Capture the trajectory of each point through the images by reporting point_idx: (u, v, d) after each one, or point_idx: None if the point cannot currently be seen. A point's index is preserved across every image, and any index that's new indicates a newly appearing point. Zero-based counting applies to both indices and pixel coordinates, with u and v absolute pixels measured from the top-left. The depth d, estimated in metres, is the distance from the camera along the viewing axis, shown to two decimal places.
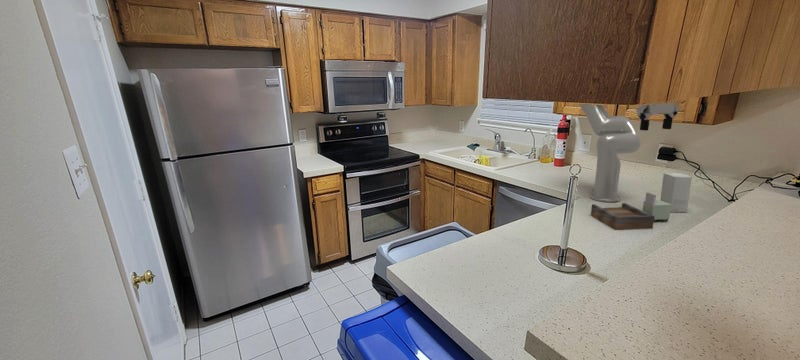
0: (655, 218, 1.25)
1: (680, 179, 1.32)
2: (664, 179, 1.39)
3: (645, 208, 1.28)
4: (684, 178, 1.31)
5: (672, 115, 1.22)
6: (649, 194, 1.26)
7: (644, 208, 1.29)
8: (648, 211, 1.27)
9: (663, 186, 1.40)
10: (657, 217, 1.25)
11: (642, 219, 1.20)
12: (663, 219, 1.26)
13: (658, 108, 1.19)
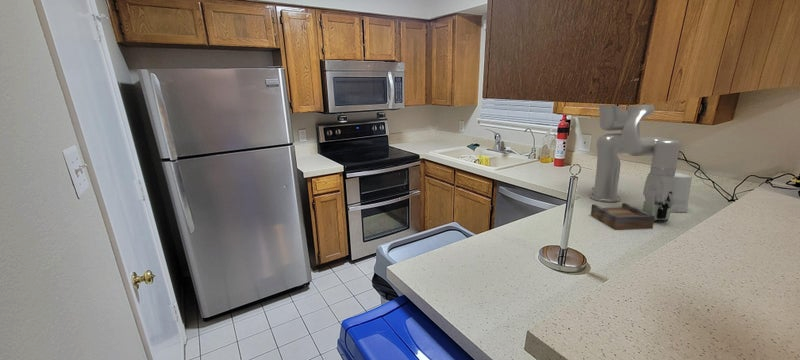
0: (655, 218, 1.25)
1: (680, 179, 1.32)
2: None
3: (645, 208, 1.28)
4: (684, 178, 1.31)
5: None
6: (649, 194, 1.26)
7: (644, 208, 1.29)
8: (648, 211, 1.27)
9: None
10: None
11: (642, 219, 1.20)
12: (663, 219, 1.26)
13: None
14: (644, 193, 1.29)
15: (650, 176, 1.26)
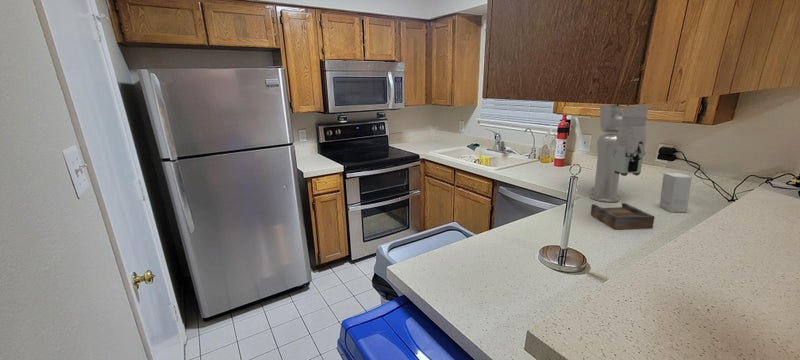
0: (626, 171, 1.21)
1: (679, 179, 1.32)
2: (664, 179, 1.39)
3: (617, 162, 1.23)
4: (684, 178, 1.31)
5: None
6: (620, 147, 1.21)
7: (616, 162, 1.24)
8: (619, 165, 1.22)
9: (663, 186, 1.40)
10: None
11: (642, 219, 1.20)
12: (635, 172, 1.21)
13: None
14: (616, 147, 1.25)
15: (621, 128, 1.21)
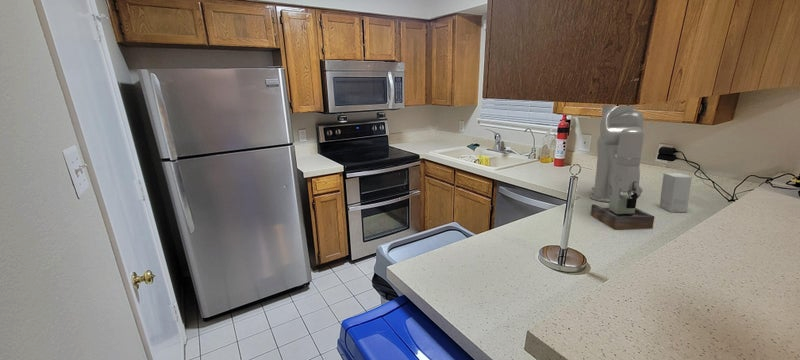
0: (620, 212, 1.25)
1: (679, 179, 1.32)
2: (664, 179, 1.39)
3: (611, 203, 1.27)
4: (684, 178, 1.31)
5: None
6: (615, 188, 1.25)
7: (610, 202, 1.28)
8: (614, 205, 1.26)
9: (663, 186, 1.40)
10: (622, 211, 1.25)
11: (642, 219, 1.20)
12: (629, 213, 1.25)
13: None
14: (611, 184, 1.28)
15: (616, 166, 1.25)
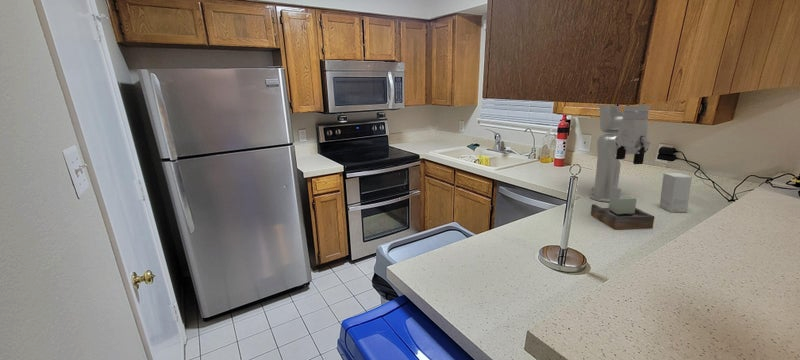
0: (620, 212, 1.25)
1: (680, 179, 1.32)
2: (664, 179, 1.39)
3: (611, 203, 1.27)
4: (684, 178, 1.31)
5: None
6: (615, 188, 1.25)
7: (610, 202, 1.28)
8: (614, 205, 1.26)
9: (663, 186, 1.40)
10: (622, 211, 1.25)
11: (642, 219, 1.20)
12: (629, 213, 1.25)
13: None
14: (617, 141, 1.25)
15: (623, 122, 1.21)
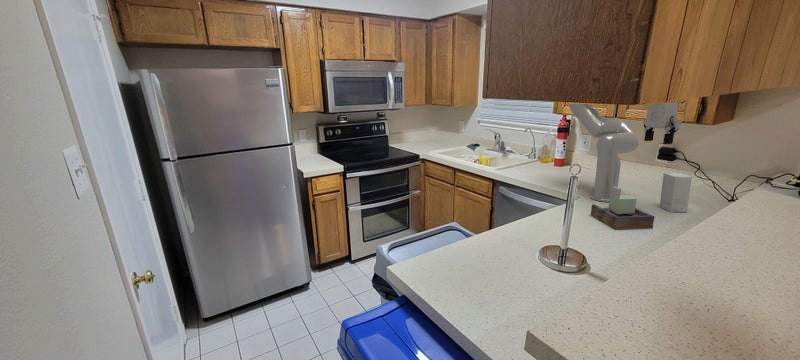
0: (620, 212, 1.25)
1: (680, 179, 1.32)
2: (664, 179, 1.39)
3: (611, 203, 1.27)
4: (684, 178, 1.31)
5: None
6: (615, 188, 1.25)
7: (610, 202, 1.28)
8: (614, 205, 1.26)
9: (663, 186, 1.40)
10: (622, 211, 1.25)
11: (642, 219, 1.20)
12: (629, 213, 1.25)
13: None
14: (646, 123, 1.29)
15: (652, 104, 1.26)
